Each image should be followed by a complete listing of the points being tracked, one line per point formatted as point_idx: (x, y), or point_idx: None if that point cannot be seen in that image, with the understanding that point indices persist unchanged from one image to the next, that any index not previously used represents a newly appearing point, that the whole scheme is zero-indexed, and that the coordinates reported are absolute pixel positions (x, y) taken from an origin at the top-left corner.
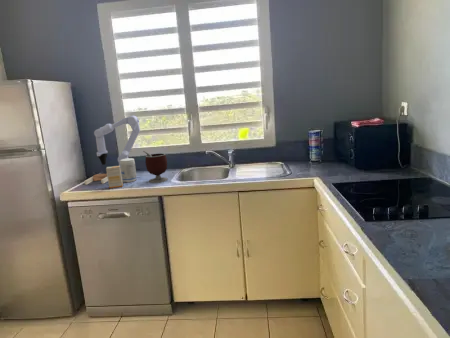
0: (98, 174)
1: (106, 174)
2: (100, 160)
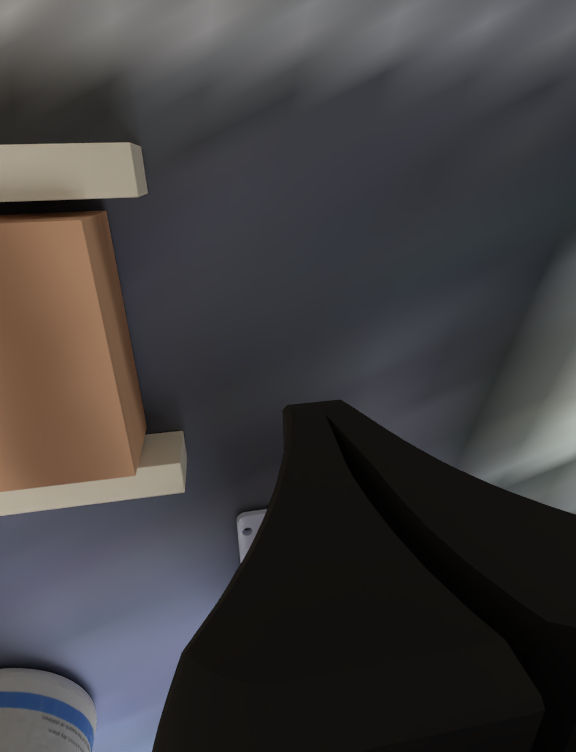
0: (52, 308)
1: (50, 483)
2: (277, 485)
